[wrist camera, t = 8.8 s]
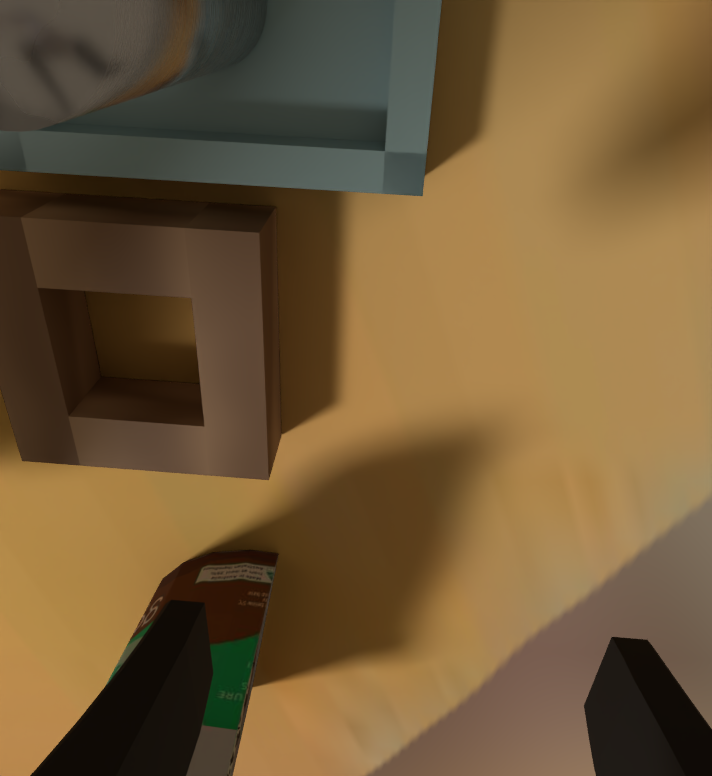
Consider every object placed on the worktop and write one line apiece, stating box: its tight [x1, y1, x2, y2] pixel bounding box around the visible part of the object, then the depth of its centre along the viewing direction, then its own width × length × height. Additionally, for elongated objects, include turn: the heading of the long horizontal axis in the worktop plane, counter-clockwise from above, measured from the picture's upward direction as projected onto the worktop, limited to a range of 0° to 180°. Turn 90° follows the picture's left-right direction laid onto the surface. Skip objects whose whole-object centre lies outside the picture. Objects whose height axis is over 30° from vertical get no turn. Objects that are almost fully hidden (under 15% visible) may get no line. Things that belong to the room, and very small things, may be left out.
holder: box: [0, 190, 281, 480], centre depth 19 cm, size 8×8×2 cm
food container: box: [106, 550, 279, 776], centre depth 23 cm, size 12×6×10 cm, turn 168°
